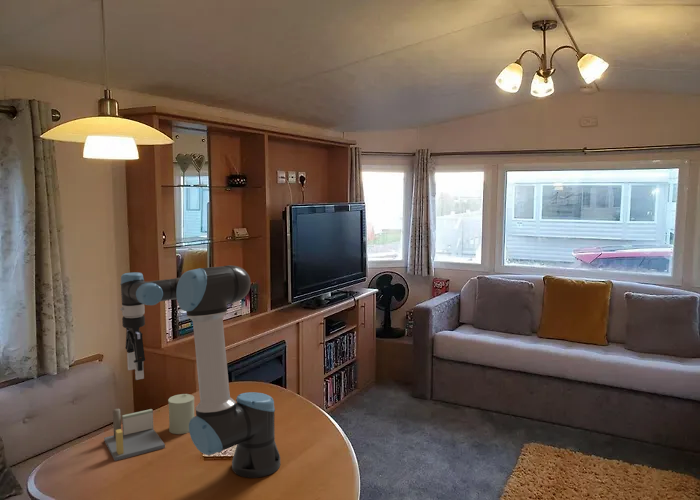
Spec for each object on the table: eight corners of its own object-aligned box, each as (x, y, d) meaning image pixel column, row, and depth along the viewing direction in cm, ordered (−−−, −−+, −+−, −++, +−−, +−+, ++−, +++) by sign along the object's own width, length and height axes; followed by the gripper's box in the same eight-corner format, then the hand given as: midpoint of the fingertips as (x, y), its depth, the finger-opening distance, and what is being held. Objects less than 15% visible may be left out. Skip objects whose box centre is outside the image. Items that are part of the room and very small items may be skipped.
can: (199, 423, 201) (198, 393, 200) (189, 434, 192) (188, 402, 191) (175, 422, 202) (174, 392, 201) (164, 433, 193) (163, 401, 192)
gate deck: (165, 447, 182) (164, 416, 181) (114, 461, 173) (113, 428, 172) (151, 429, 196) (150, 400, 195) (104, 440, 187) (102, 410, 186)
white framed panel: (123, 435, 188) (123, 416, 187) (122, 433, 189) (122, 415, 189) (153, 428, 194) (152, 410, 193) (152, 426, 195) (151, 408, 194)
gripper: (115, 310, 201) (117, 367, 203) (130, 323, 181) (132, 386, 184) (136, 308, 205) (138, 363, 208) (153, 320, 186) (155, 381, 188)
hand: (135, 374), depth 196 cm, fingers open, 11 cm apart
